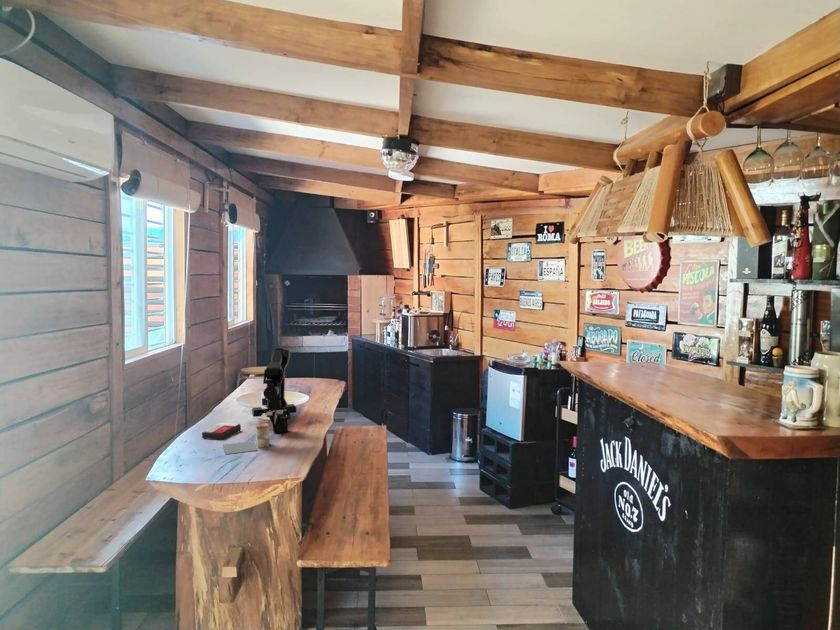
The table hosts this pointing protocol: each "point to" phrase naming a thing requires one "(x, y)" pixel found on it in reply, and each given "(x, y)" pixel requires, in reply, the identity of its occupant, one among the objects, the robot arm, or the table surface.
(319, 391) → the table surface
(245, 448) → the mat
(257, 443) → the block
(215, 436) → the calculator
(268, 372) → the robot arm
